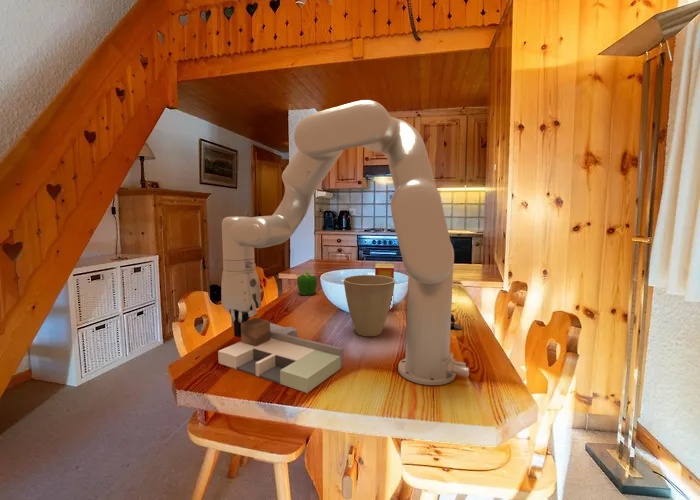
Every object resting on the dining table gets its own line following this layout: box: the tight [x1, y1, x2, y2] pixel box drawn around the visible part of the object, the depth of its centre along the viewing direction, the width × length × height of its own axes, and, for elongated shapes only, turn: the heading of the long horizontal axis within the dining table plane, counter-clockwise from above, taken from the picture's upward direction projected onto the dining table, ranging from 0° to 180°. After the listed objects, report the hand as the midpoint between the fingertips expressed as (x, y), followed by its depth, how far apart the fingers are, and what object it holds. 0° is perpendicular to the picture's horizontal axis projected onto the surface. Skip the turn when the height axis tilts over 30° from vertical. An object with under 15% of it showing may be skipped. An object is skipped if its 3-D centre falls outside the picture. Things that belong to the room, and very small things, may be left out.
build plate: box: [450, 312, 464, 331], centre depth 110 cm, size 12×7×5 cm, turn 88°
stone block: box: [270, 322, 299, 337], centre depth 99 cm, size 12×5×10 cm
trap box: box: [217, 331, 344, 394], centre depth 82 cm, size 26×14×4 cm, turn 60°
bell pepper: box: [296, 269, 318, 296], centre depth 149 cm, size 8×8×10 cm
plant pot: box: [343, 274, 396, 337], centre depth 104 cm, size 15×15×16 cm
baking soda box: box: [374, 263, 395, 313], centre depth 129 cm, size 10×6×16 cm
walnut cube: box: [240, 317, 271, 346], centre depth 89 cm, size 5×5×5 cm
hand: (241, 335), depth 92 cm, fingers closed
